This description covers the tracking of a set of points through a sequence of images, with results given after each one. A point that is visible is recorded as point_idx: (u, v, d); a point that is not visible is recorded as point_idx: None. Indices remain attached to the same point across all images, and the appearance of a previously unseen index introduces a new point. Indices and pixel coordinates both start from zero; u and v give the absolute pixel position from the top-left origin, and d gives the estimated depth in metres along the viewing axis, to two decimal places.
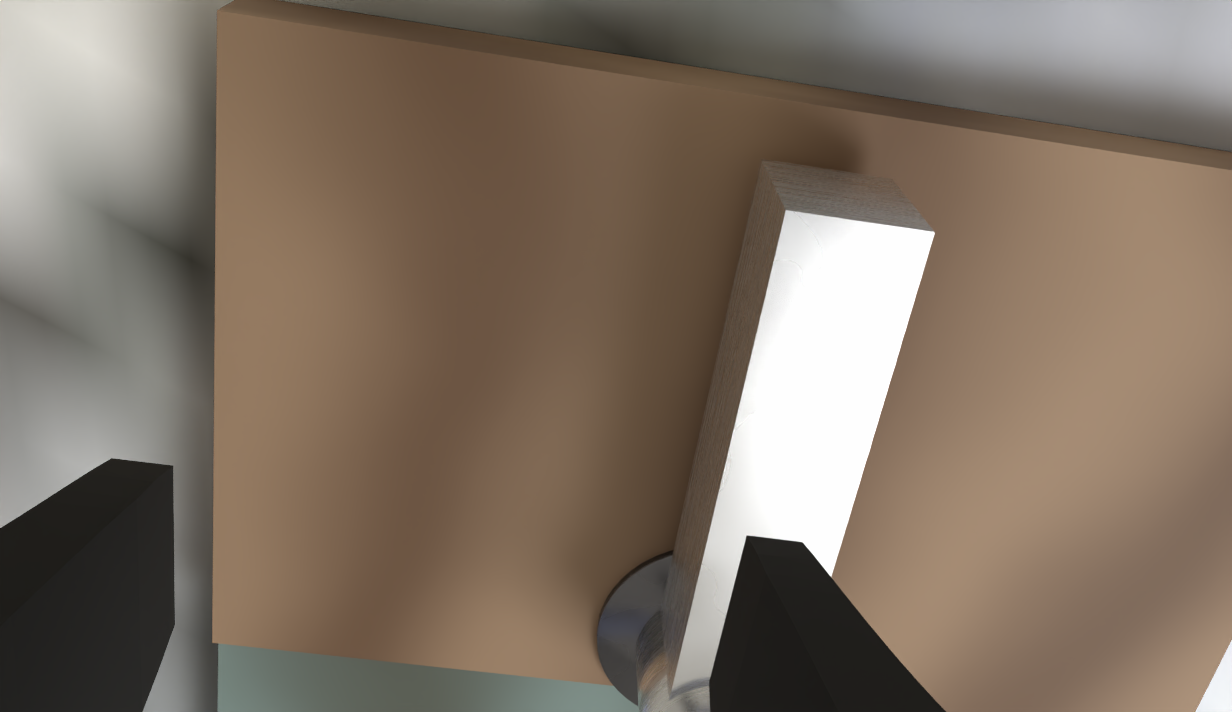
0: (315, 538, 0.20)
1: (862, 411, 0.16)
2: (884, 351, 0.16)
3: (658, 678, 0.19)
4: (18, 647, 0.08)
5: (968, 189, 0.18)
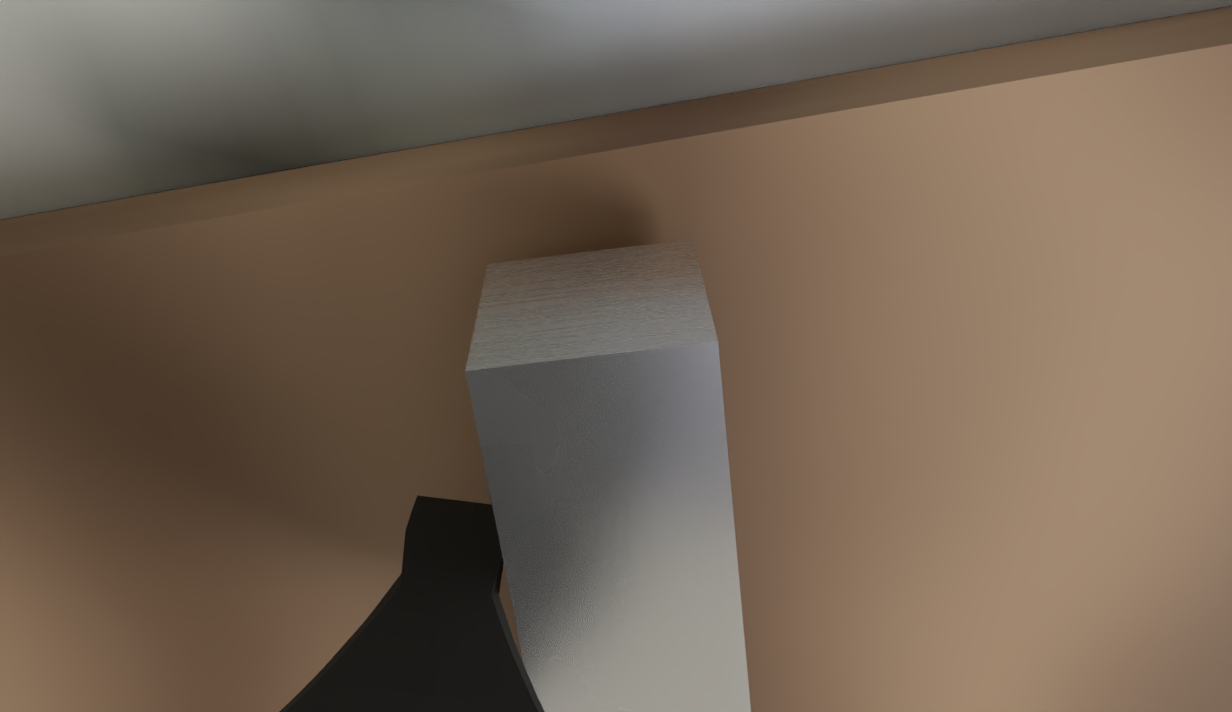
0: None
1: (714, 620, 0.10)
2: (711, 531, 0.10)
3: None
4: None
5: (782, 211, 0.11)
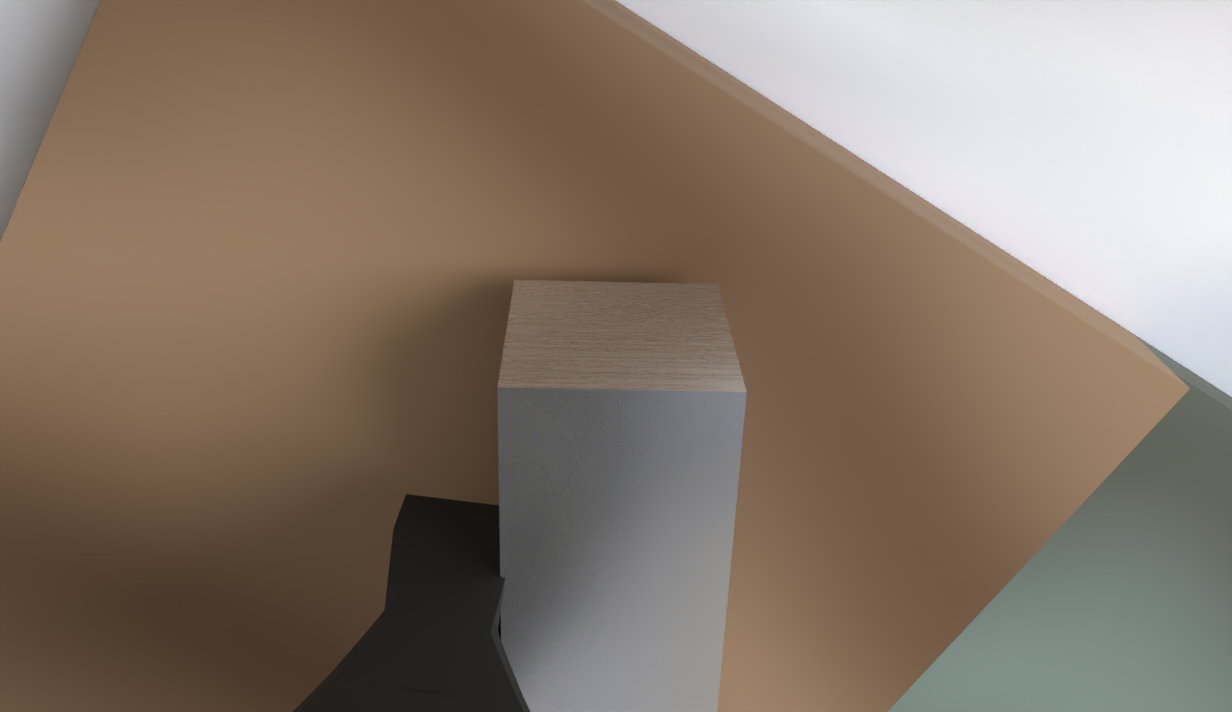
0: None
1: (694, 658, 0.10)
2: (707, 572, 0.10)
3: None
4: None
5: (3, 469, 0.13)
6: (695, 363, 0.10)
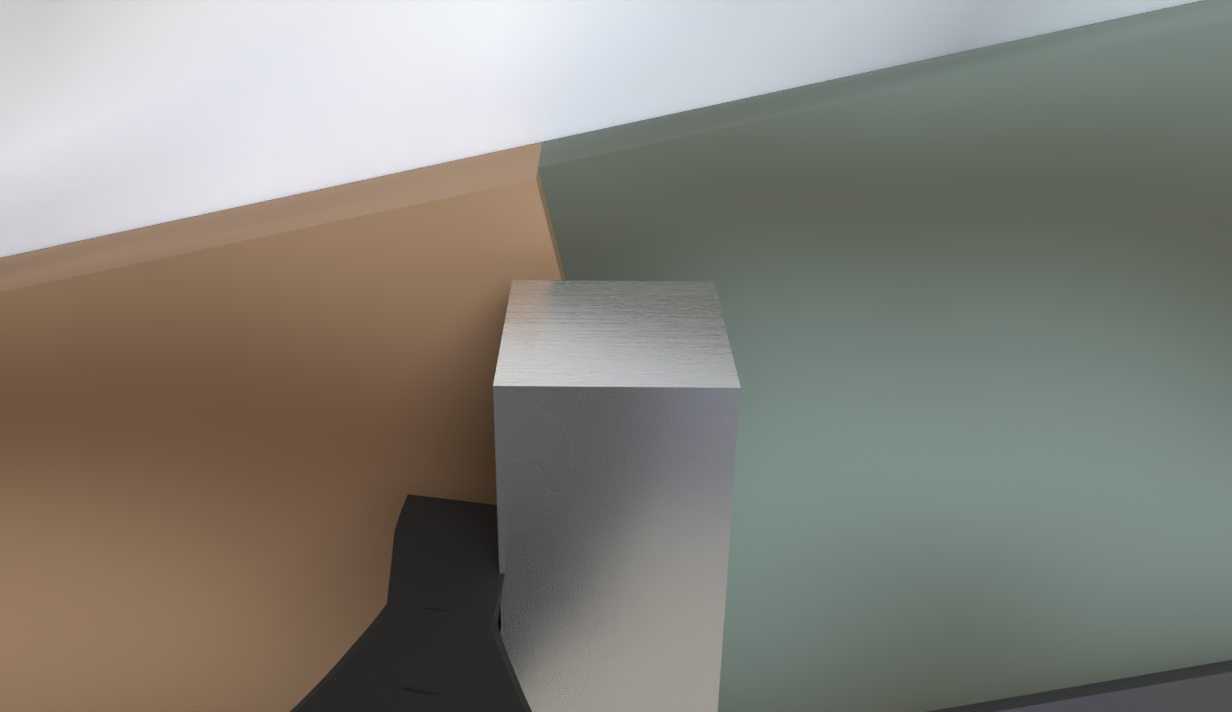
0: None
1: (693, 654, 0.10)
2: (705, 568, 0.10)
3: None
4: None
5: None
6: (690, 360, 0.10)
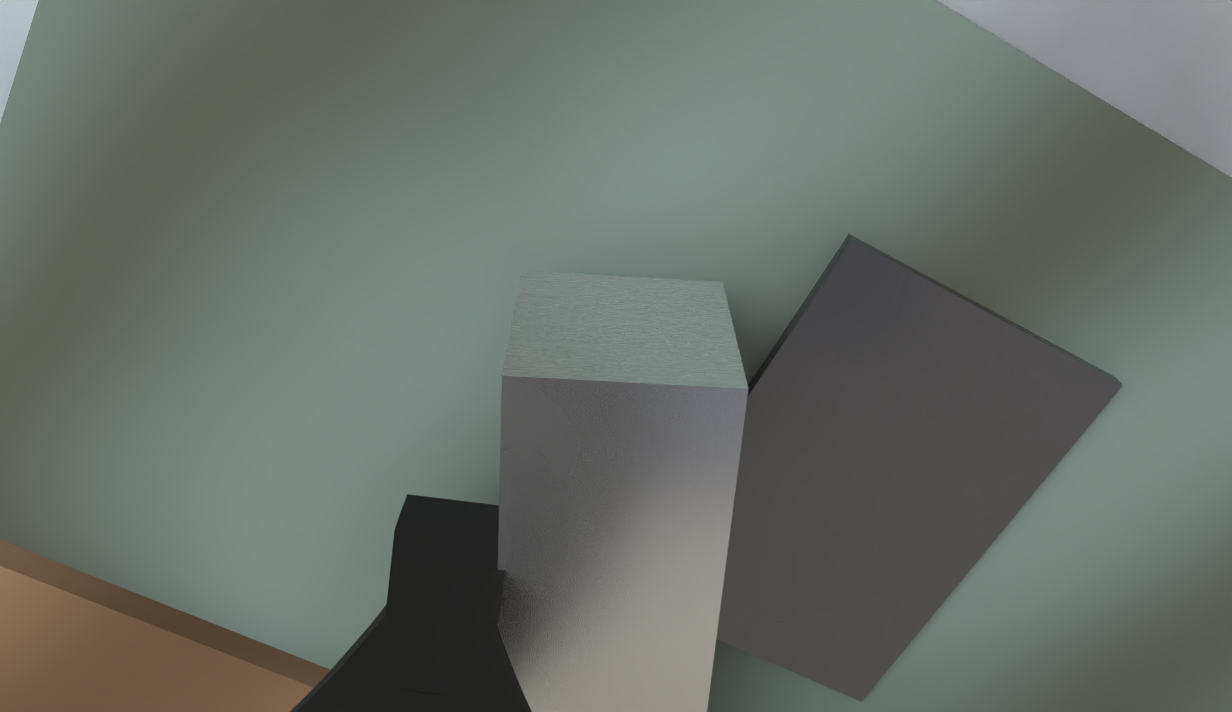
0: None
1: (686, 651, 0.10)
2: (703, 566, 0.10)
3: None
4: None
5: None
6: (698, 359, 0.10)
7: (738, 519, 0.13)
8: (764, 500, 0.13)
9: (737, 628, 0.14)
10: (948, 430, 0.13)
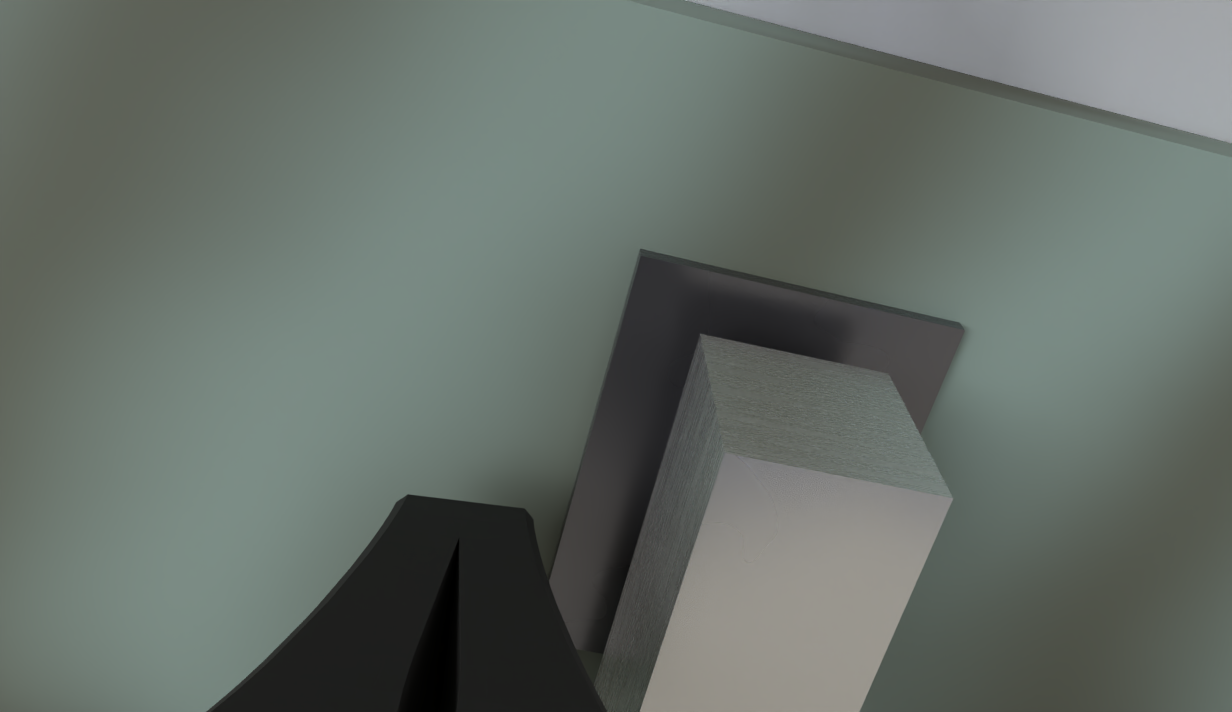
0: None
1: None
2: (861, 655, 0.10)
3: None
4: (410, 688, 0.09)
5: None
6: (897, 458, 0.10)
7: (626, 544, 0.13)
8: None
9: None
10: None
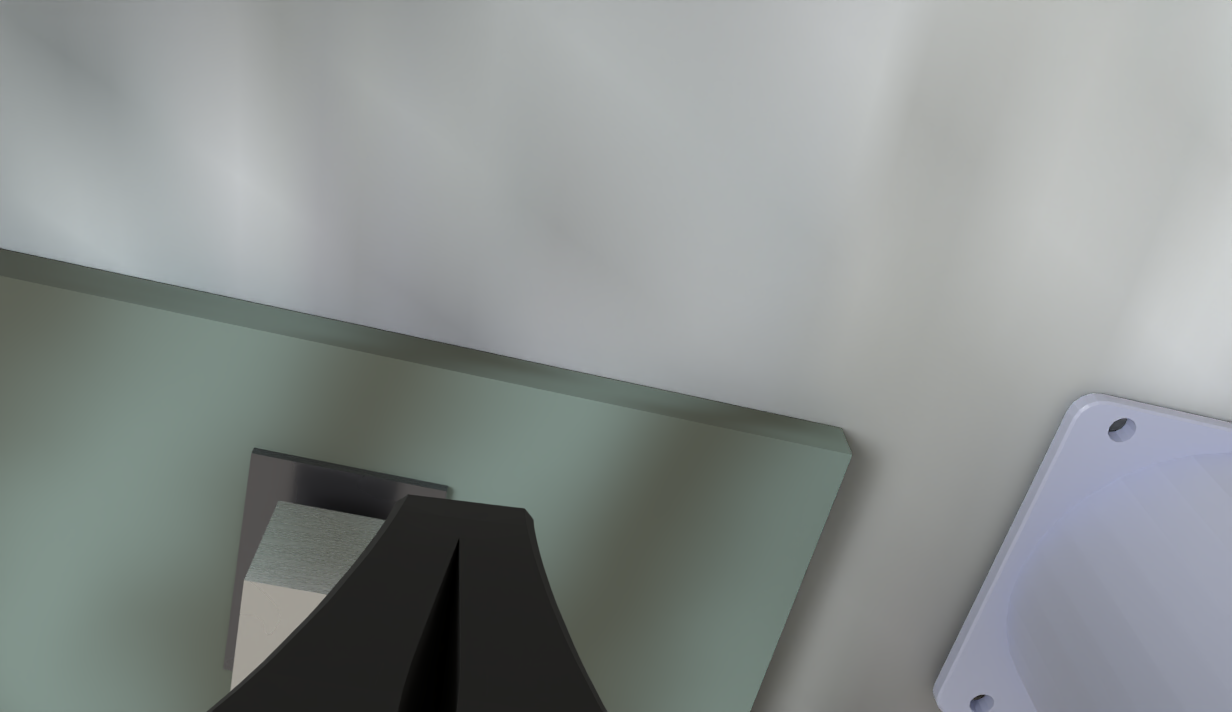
0: None
1: None
2: None
3: None
4: (410, 688, 0.09)
5: None
6: None
7: None
8: None
9: None
10: None
